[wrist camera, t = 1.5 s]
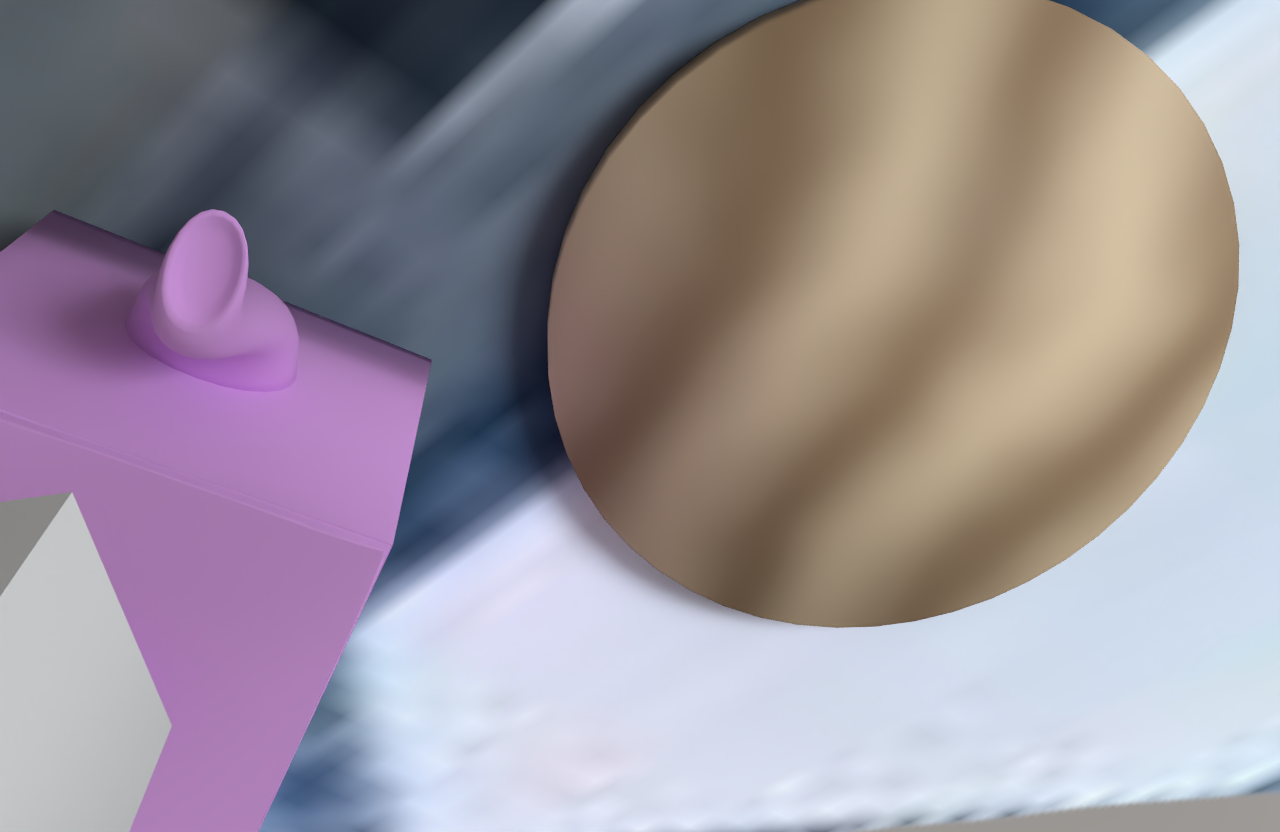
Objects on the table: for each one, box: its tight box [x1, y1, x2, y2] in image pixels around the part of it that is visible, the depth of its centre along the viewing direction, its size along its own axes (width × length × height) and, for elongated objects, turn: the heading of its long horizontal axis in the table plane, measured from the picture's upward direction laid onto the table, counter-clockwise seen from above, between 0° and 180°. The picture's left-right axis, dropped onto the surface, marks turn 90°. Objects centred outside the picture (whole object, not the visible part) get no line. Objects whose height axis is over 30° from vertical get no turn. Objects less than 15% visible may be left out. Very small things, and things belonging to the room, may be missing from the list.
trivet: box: [548, 0, 1239, 628], centre depth 33 cm, size 20×20×1 cm
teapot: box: [0, 209, 432, 832], centre depth 27 cm, size 20×10×12 cm, turn 154°
